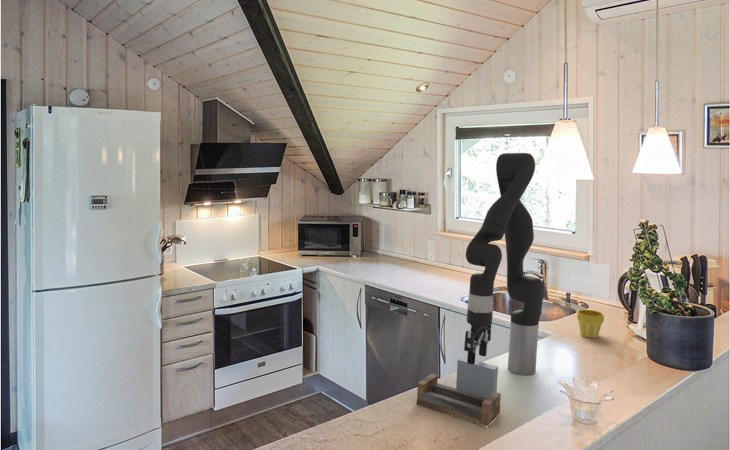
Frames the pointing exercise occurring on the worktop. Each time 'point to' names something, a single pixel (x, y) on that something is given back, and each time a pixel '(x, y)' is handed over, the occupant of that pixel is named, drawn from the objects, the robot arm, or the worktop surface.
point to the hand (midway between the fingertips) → (476, 359)
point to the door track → (486, 404)
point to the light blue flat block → (476, 377)
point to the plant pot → (590, 322)
